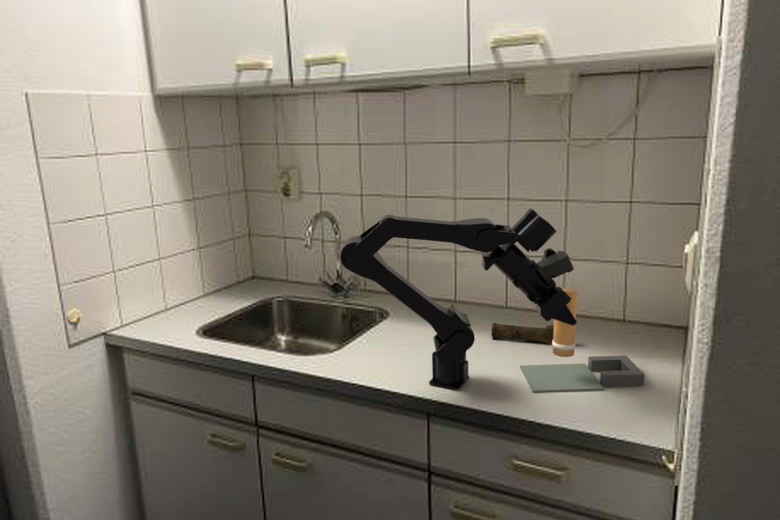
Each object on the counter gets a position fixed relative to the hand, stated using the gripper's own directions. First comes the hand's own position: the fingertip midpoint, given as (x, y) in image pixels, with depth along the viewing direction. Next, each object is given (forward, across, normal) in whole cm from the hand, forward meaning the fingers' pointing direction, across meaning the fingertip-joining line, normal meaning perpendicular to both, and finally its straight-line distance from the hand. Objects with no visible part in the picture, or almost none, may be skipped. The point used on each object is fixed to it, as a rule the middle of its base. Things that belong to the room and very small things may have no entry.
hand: (571, 320), depth 120 cm
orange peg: (+4, 0, +6) cm, 7 cm away
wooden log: (+7, +21, +11) cm, 25 cm away
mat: (+8, 0, +10) cm, 13 cm away
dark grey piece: (+15, 0, +3) cm, 15 cm away
